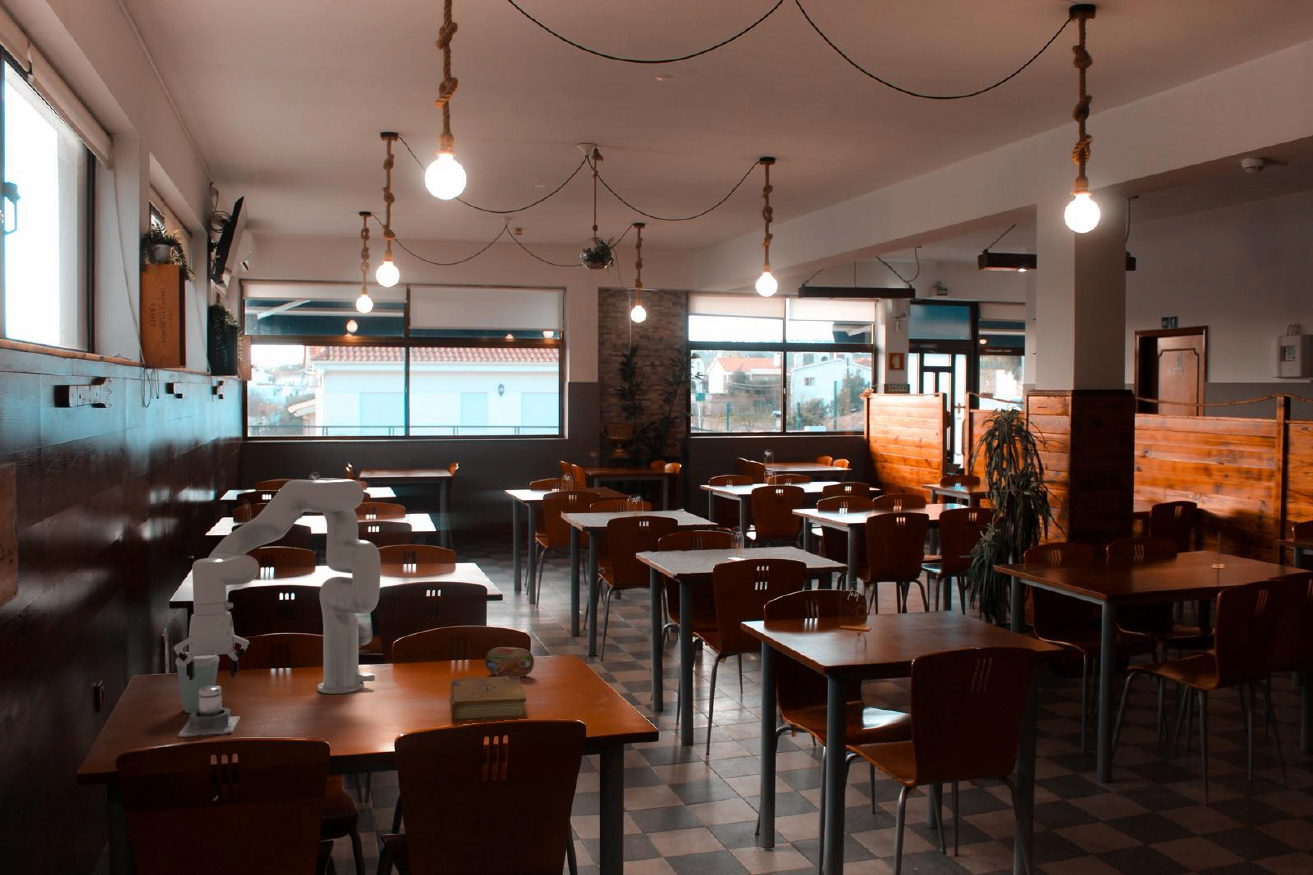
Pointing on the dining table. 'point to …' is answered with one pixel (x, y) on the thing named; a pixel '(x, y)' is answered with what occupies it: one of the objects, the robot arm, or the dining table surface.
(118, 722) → the dining table surface
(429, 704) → the dining table surface
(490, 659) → the tin
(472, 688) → the diary
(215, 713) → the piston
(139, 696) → the dining table surface
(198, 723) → the ring jig
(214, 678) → the disposable coffee cup
